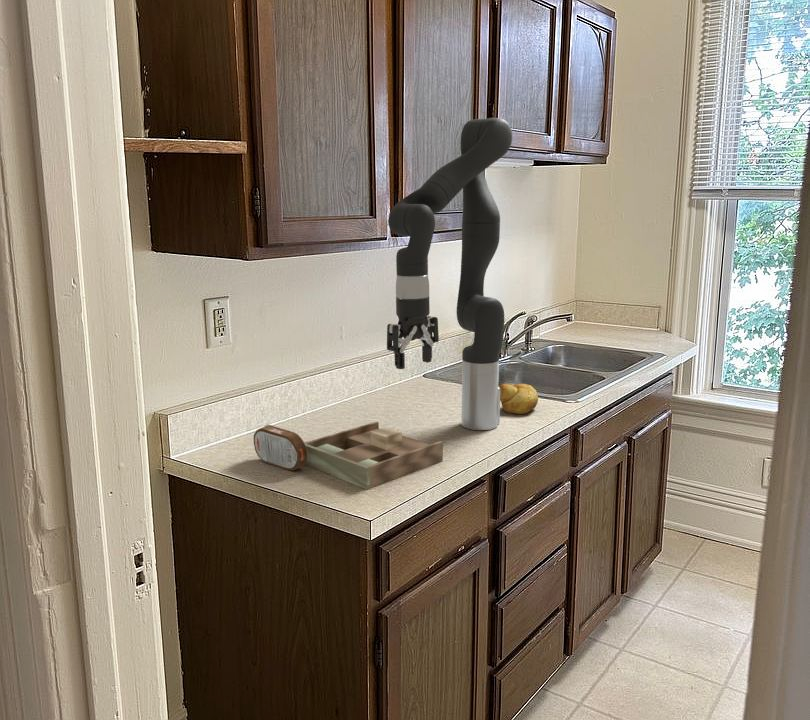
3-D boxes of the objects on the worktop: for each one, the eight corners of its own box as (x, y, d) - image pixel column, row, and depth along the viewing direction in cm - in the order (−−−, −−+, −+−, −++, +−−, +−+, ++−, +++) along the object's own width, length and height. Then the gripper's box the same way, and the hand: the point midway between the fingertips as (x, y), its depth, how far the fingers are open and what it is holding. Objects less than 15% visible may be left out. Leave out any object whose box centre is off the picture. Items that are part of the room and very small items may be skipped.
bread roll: (516, 401, 216) (517, 374, 214) (547, 407, 210) (548, 379, 209) (493, 412, 206) (494, 383, 204) (525, 418, 200) (526, 389, 199)
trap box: (376, 439, 184) (376, 421, 183) (442, 461, 169) (442, 441, 168) (301, 463, 168) (300, 443, 167) (367, 489, 153) (366, 468, 152)
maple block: (386, 439, 174) (386, 427, 174) (402, 444, 171) (401, 431, 170) (370, 444, 171) (370, 431, 170) (385, 449, 167) (385, 436, 167)
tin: (309, 471, 163) (307, 434, 161) (298, 475, 161) (297, 438, 159) (262, 456, 172) (261, 421, 171) (251, 460, 170) (250, 424, 168)
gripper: (422, 289, 177) (423, 357, 180) (377, 297, 167) (379, 368, 171) (446, 292, 171) (446, 362, 175) (401, 300, 162) (402, 373, 166)
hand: (413, 365), depth 173 cm, fingers open, 8 cm apart
